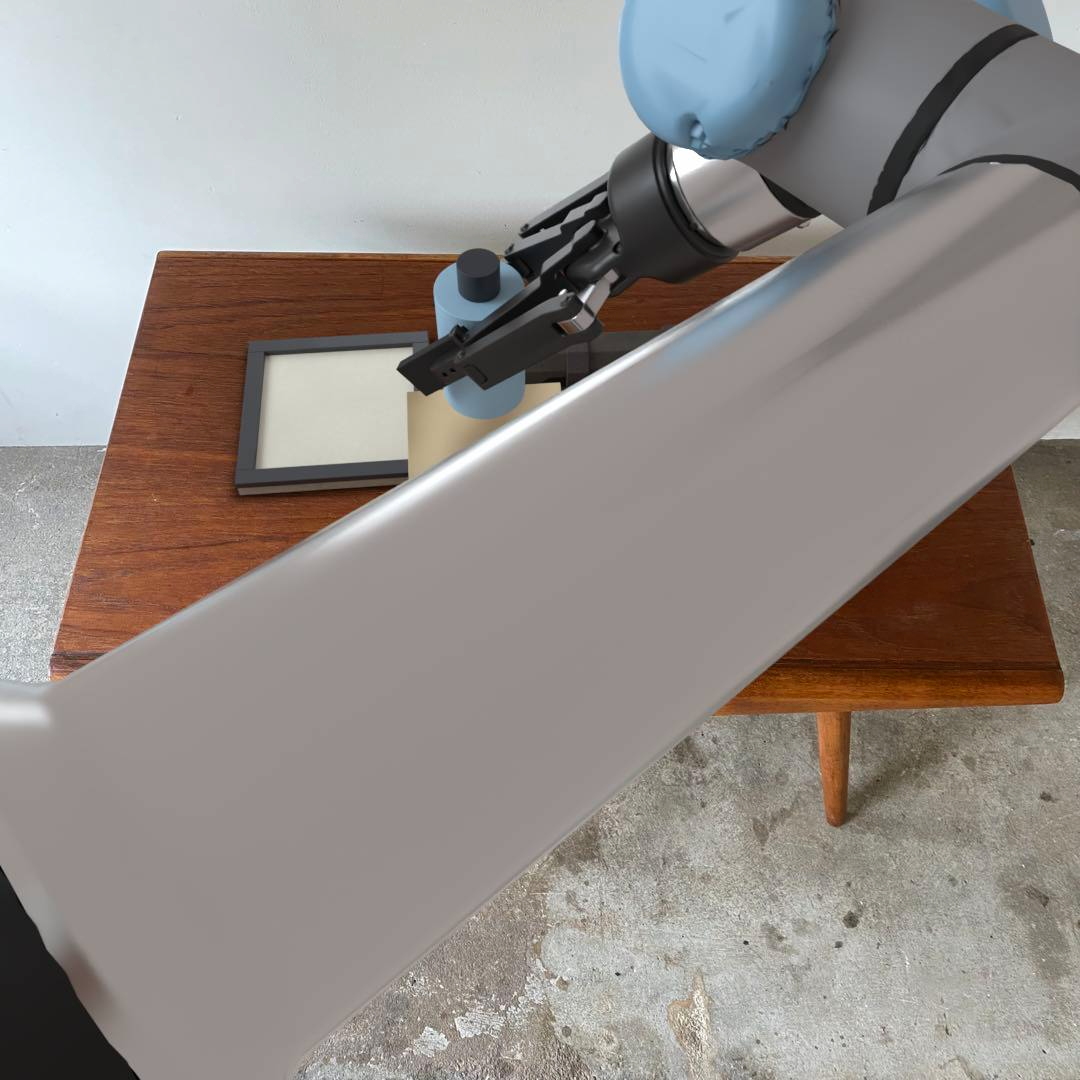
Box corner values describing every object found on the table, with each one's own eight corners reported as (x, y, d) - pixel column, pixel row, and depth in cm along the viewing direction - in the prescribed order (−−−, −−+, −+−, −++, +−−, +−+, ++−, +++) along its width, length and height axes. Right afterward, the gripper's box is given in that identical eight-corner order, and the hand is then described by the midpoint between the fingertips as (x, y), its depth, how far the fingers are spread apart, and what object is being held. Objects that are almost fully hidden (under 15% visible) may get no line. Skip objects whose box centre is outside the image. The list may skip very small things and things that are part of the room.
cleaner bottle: (445, 422, 65) (432, 297, 55) (442, 361, 68) (429, 233, 58) (528, 416, 65) (528, 292, 56) (521, 356, 68) (521, 229, 59)
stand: (428, 625, 82) (409, 518, 68) (425, 509, 88) (406, 391, 75) (569, 614, 82) (577, 506, 69) (555, 500, 89) (560, 382, 75)
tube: (441, 390, 100) (731, 351, 98) (445, 449, 97) (742, 410, 96) (419, 335, 89) (742, 291, 88) (423, 400, 87) (755, 356, 85)
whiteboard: (239, 495, 89) (234, 484, 87) (253, 353, 98) (248, 340, 97) (434, 482, 90) (433, 470, 88) (429, 343, 100) (427, 330, 98)
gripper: (714, 365, 45) (420, 485, 61) (782, 137, 55) (513, 293, 71) (614, 250, 41) (329, 410, 58) (706, 28, 51) (440, 218, 67)
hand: (431, 345), depth 64 cm, fingers closed on cleaner bottle, 6 cm apart
